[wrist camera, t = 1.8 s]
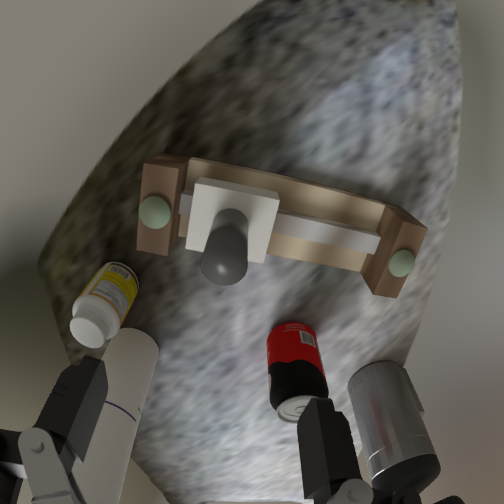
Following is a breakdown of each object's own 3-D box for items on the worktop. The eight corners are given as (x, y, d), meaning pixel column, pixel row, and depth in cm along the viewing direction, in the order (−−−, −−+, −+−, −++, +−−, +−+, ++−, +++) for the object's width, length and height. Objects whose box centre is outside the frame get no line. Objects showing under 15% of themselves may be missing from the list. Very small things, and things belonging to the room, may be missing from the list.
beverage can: (283, 310, 37) (294, 386, 26) (324, 328, 38) (344, 401, 28) (257, 343, 40) (258, 418, 29) (296, 358, 41) (307, 430, 30)
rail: (402, 208, 31) (429, 230, 25) (377, 269, 35) (397, 300, 29) (163, 152, 29) (142, 164, 23) (154, 225, 32) (134, 251, 26)
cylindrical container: (144, 323, 38) (81, 499, 16) (167, 360, 41) (129, 524, 19) (103, 331, 39) (34, 484, 17) (128, 366, 42) (79, 512, 20)
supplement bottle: (108, 299, 37) (76, 353, 27) (94, 262, 34) (53, 311, 25) (146, 297, 36) (119, 354, 27) (133, 257, 34) (98, 309, 25)
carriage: (277, 192, 27) (289, 233, 19) (262, 251, 30) (266, 311, 21) (200, 176, 27) (175, 211, 18) (190, 237, 29) (166, 293, 21)
